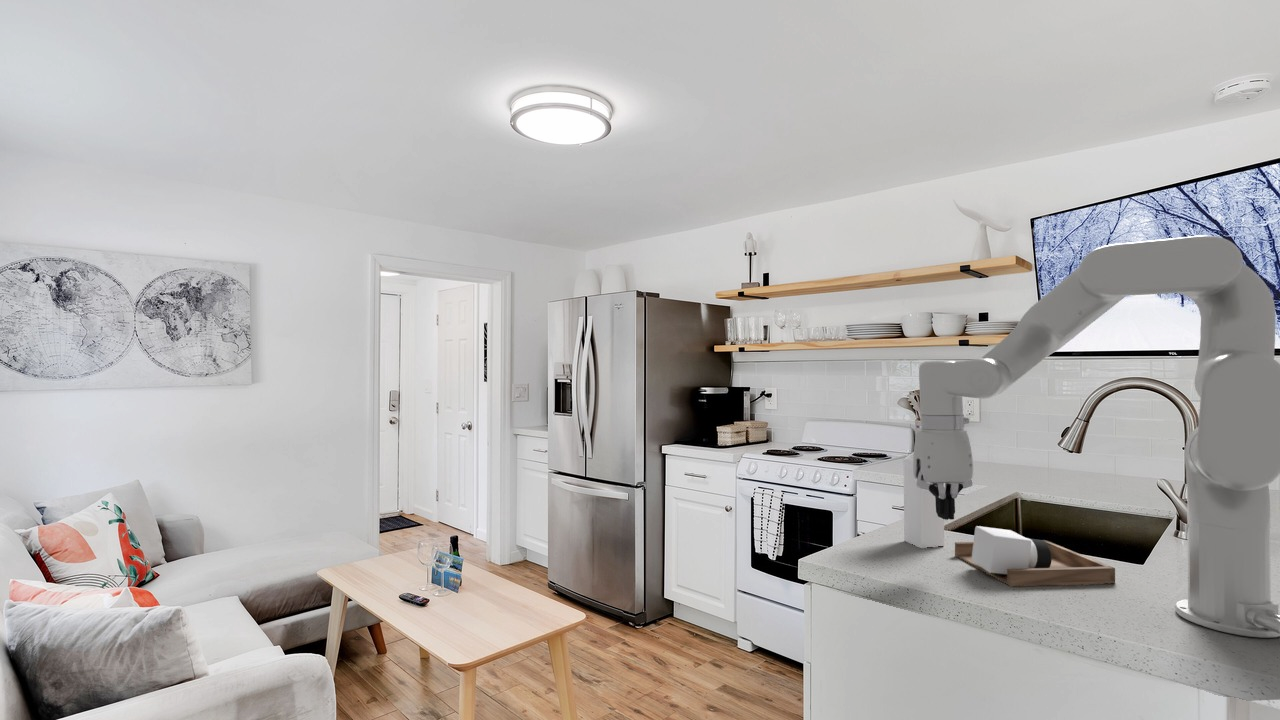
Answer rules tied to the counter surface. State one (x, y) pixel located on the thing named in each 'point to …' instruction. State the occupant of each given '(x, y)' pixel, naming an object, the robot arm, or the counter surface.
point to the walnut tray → (1050, 569)
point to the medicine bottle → (1008, 551)
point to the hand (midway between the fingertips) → (945, 517)
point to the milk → (920, 512)
